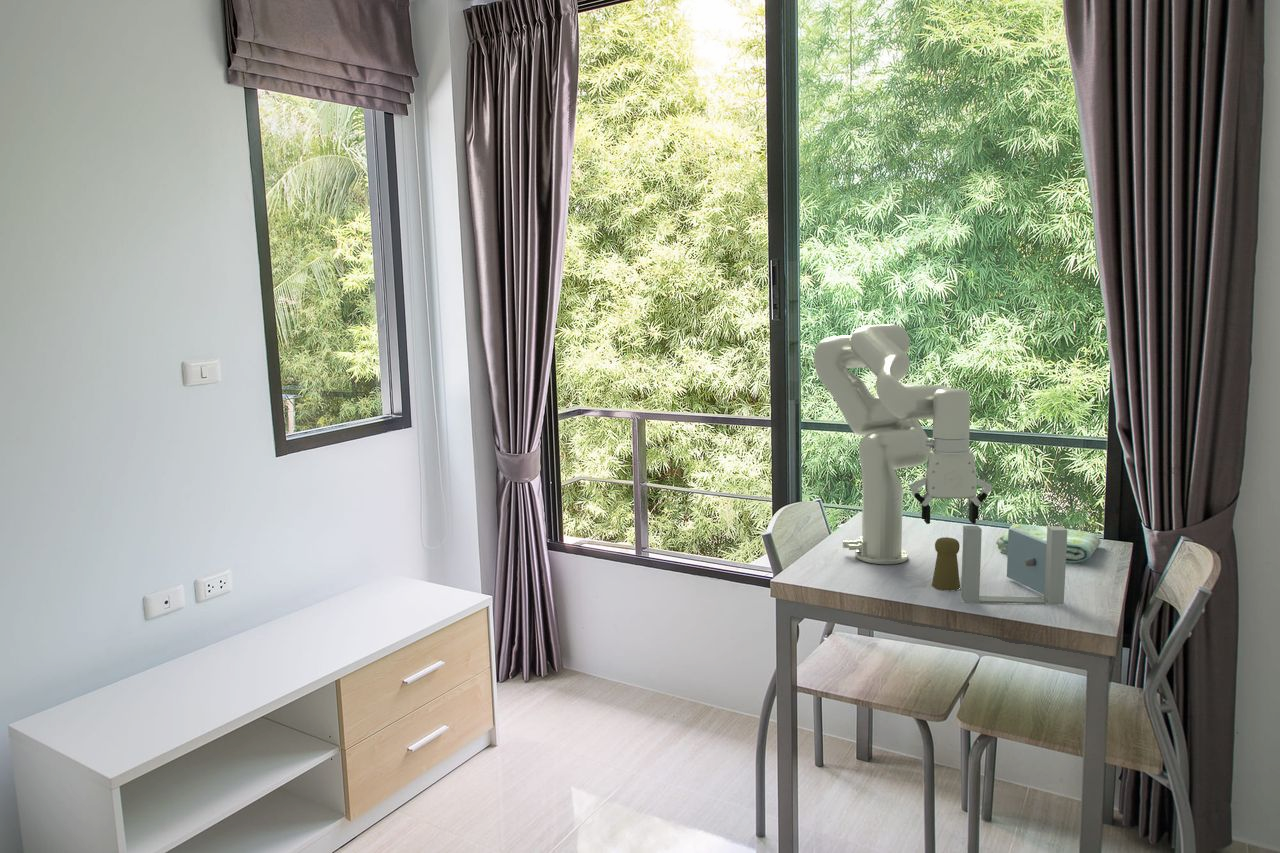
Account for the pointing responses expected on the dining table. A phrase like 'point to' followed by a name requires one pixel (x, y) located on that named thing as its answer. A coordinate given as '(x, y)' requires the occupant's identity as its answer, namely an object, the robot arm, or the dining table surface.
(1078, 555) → the towel
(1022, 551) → the door
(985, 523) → the dining table surface
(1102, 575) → the dining table surface
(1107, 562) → the dining table surface
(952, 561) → the cork
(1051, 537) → the door frame
